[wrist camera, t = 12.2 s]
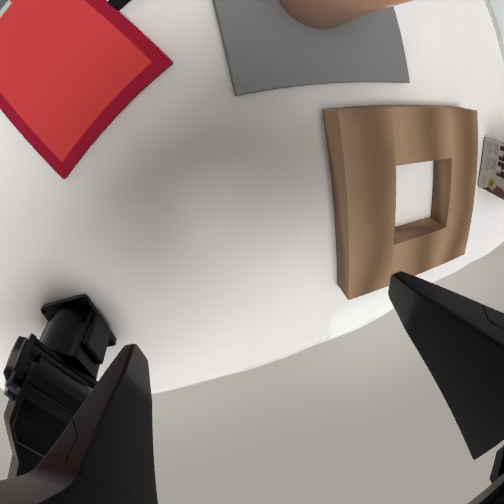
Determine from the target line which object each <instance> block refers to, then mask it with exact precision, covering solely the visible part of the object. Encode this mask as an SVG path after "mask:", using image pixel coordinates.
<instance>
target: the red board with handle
mask: <svg viewBox="0 0 504 504" xmlns="http://www.w3.org/2000/svg"><path fill="white" fill-rule="evenodd" d="M129 1H130V0H109V1H108V2H107V1H106V0H0V109H1V110H2V112H3V113H4V114H5V115H6V116H7V118H8V119H9V120H10V121H11V122H12V124H13V125H14V126H15V127H16V128H17V129H18V131H19V132H20V133H21V134H22V135H23V136H24V138H25V139H26V140H27V141H28V142H29V143H30V144H31V145H32V146H33V148H34V149H35V150H36V151H37V152H38V153H39V154H40V155H41V156H42V157H43V158H44V160H45V161H46V162H47V163H48V164H49V165H50V166H51V167H52V168H53V169H54V170H55V171H56V172H57V173H58V174H59V175H60V176H61V177H62V178H63V179H65V178H66V177H67V176H68V175H69V174H70V172H71V171H72V170H73V168H74V167H75V165H76V164H77V163H78V161H79V160H80V159H81V158H82V156H83V155H84V154H85V152H86V151H87V150H88V149H89V147H90V146H91V145H92V144H93V143H94V141H95V140H96V139H97V138H98V137H99V135H100V134H101V133H102V132H103V131H104V130H105V129H106V127H107V126H108V125H109V124H110V123H111V122H112V121H113V120H114V119H115V118H116V116H117V115H118V114H119V113H120V112H121V111H122V110H123V109H124V108H125V107H126V106H127V105H128V104H129V103H130V102H131V101H132V100H133V99H134V98H135V97H136V96H137V95H138V94H139V93H140V92H141V91H142V90H143V89H144V88H146V87H147V86H148V85H149V84H150V83H151V82H152V81H153V80H154V79H155V78H157V77H158V76H159V75H160V74H161V73H162V72H163V71H165V70H166V69H167V68H168V67H169V66H171V65H172V64H173V62H172V61H171V60H170V59H169V58H168V57H167V56H166V55H165V54H164V53H163V52H162V51H161V50H160V49H159V48H158V47H157V46H156V45H155V44H154V43H153V42H152V41H151V40H150V39H148V38H147V37H146V36H145V35H144V34H143V33H142V32H141V31H140V30H139V29H138V28H137V27H136V26H134V25H133V24H132V23H131V22H130V21H129V20H128V19H127V18H126V17H124V16H123V15H122V14H121V13H120V12H119V10H120V9H121V8H122V7H123V6H124V5H125V4H126V3H127V2H129Z"/></svg>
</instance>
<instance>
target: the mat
mask: <svg viewBox="0 0 504 504" xmlns="http://www.w3.org/2000/svg"><path fill="white" fill-rule="evenodd" d="M213 3H214V7H215V11H216V15H217V19H218V23H219V27H220V32H221V36H222V40H223V44H224V48H225V53H226V57H227V61H228V65H229V70H230V74H231V78H232V83H233V87H234V91H235V96H236V95H241V94H246V93H251V92H257V91H263V90H269V89H276V88H283V87H291V86H300V85H310V84H322V83H339V82H398V83H410V81H409V75H408V69H407V63H406V57H405V52H404V47H403V43H402V38H401V34H400V30H399V26H398V22H397V18H396V14H395V11H394V7H393V6H392V7H389V8H386V9H383V10H380V11H377V12H374V13H372V14H369V15H366V16H364V17H361V18H358V19H356V20H353V21H351V22H349V23H346V24H344V25H342V26H339V27H337V28H333V29H317V28H313V27H310V26H307V25H305V24H303V23H301V22H299V21H297V20H296V19H295V18H293V17H292V16H291V15H290V14H289V13H288V12H287V11H286V10H285V8H284V7H283V6H282V4H281V2H280V0H213Z"/></svg>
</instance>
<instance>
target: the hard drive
mask: <svg viewBox="0 0 504 504" xmlns="http://www.w3.org/2000/svg"><path fill="white" fill-rule="evenodd" d="M485 3H486V5H487V8H488V11H489V13H490V16H491V19H492V22H493V25H494V28H495V31H496V35H497V38H498V42H499V46H500V50H501V54H502V58H503V62H504V0H485Z"/></svg>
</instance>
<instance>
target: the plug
mask: <svg viewBox="0 0 504 504" xmlns="http://www.w3.org/2000/svg"><path fill="white" fill-rule="evenodd" d="M409 1H413V0H280V2H281V4H282V6H283V7H284V8H285V10H286V11H287V12H288V13H289V14H290V15H291V16H292V17H293V18H295V19H296V20H297V21H299V22H301V23H303V24H305V25H307V26H310V27H313V28H317V29H333V28H337V27H339V26H342V25H344V24H346V23H349V22H351V21H353V20H356V19H358V18H361V17H364V16H366V15H369V14H372V13H374V12H377V11H380V10H383V9H386V8H389V7H392V6H395V5H399V4H402V3H405V2H409Z"/></svg>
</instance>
